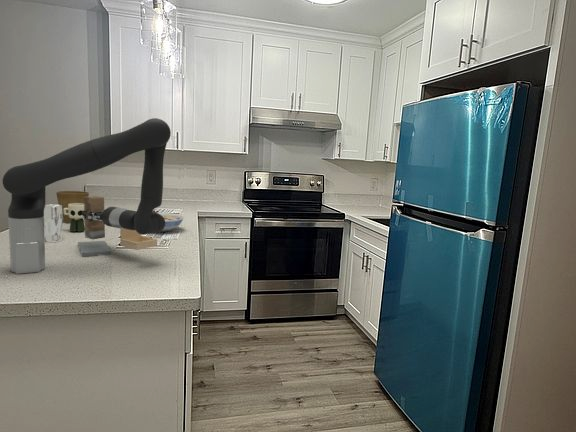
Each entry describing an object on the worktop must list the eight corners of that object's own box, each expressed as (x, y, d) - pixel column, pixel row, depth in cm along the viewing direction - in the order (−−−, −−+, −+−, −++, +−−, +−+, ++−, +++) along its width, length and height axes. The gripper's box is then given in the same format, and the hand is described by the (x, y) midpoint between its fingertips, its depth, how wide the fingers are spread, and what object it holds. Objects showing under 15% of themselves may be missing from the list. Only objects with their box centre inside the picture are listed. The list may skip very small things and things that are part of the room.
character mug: (63, 233, 172) (62, 205, 170) (65, 230, 178) (64, 203, 176) (89, 232, 176) (89, 205, 174) (90, 229, 183) (90, 203, 181)
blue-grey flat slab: (111, 254, 143) (111, 250, 143) (82, 257, 137) (81, 253, 137) (104, 244, 158) (104, 240, 157) (77, 245, 152) (77, 242, 152)
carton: (167, 246, 161) (167, 225, 160) (136, 253, 147) (136, 230, 146) (146, 241, 167) (146, 221, 166) (114, 247, 153) (114, 225, 152)
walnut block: (104, 237, 148) (104, 197, 145) (93, 239, 144) (92, 198, 141) (96, 235, 150) (95, 196, 148) (85, 237, 146) (83, 196, 143)
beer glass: (59, 238, 162) (58, 203, 160) (66, 241, 158) (65, 206, 156) (41, 240, 157) (40, 204, 155) (47, 243, 153) (46, 206, 151)
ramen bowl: (176, 237, 180) (176, 220, 178) (128, 234, 179) (128, 217, 178) (189, 227, 204) (189, 213, 203) (147, 224, 204) (147, 210, 203)
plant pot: (90, 224, 195) (90, 193, 193) (57, 225, 187) (56, 193, 185) (88, 219, 208) (87, 190, 205) (56, 220, 200) (56, 190, 197)
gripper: (134, 206, 144) (106, 201, 152) (100, 209, 132) (71, 204, 140) (134, 225, 146) (106, 219, 153) (101, 230, 133) (72, 224, 141)
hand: (90, 212), depth 147 cm, fingers closed on walnut block, 5 cm apart
